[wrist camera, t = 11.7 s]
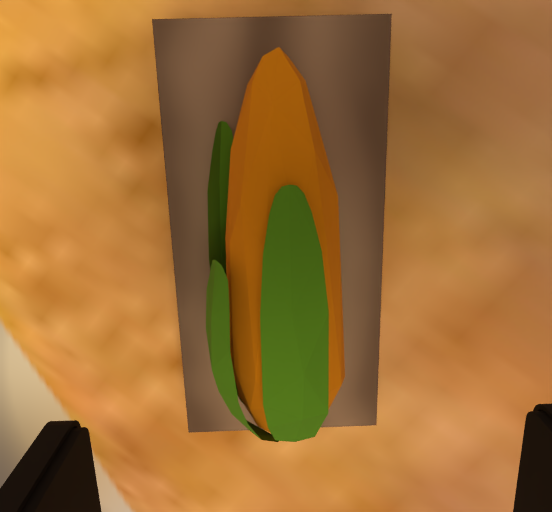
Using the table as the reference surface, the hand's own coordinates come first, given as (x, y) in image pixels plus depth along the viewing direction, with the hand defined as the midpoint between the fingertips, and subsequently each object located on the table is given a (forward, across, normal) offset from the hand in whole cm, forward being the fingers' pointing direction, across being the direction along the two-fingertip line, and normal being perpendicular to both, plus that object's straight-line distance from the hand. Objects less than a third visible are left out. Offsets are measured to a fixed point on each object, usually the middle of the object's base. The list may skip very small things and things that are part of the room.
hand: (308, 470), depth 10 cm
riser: (+22, 0, 0) cm, 22 cm away
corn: (+18, 0, 0) cm, 18 cm away
